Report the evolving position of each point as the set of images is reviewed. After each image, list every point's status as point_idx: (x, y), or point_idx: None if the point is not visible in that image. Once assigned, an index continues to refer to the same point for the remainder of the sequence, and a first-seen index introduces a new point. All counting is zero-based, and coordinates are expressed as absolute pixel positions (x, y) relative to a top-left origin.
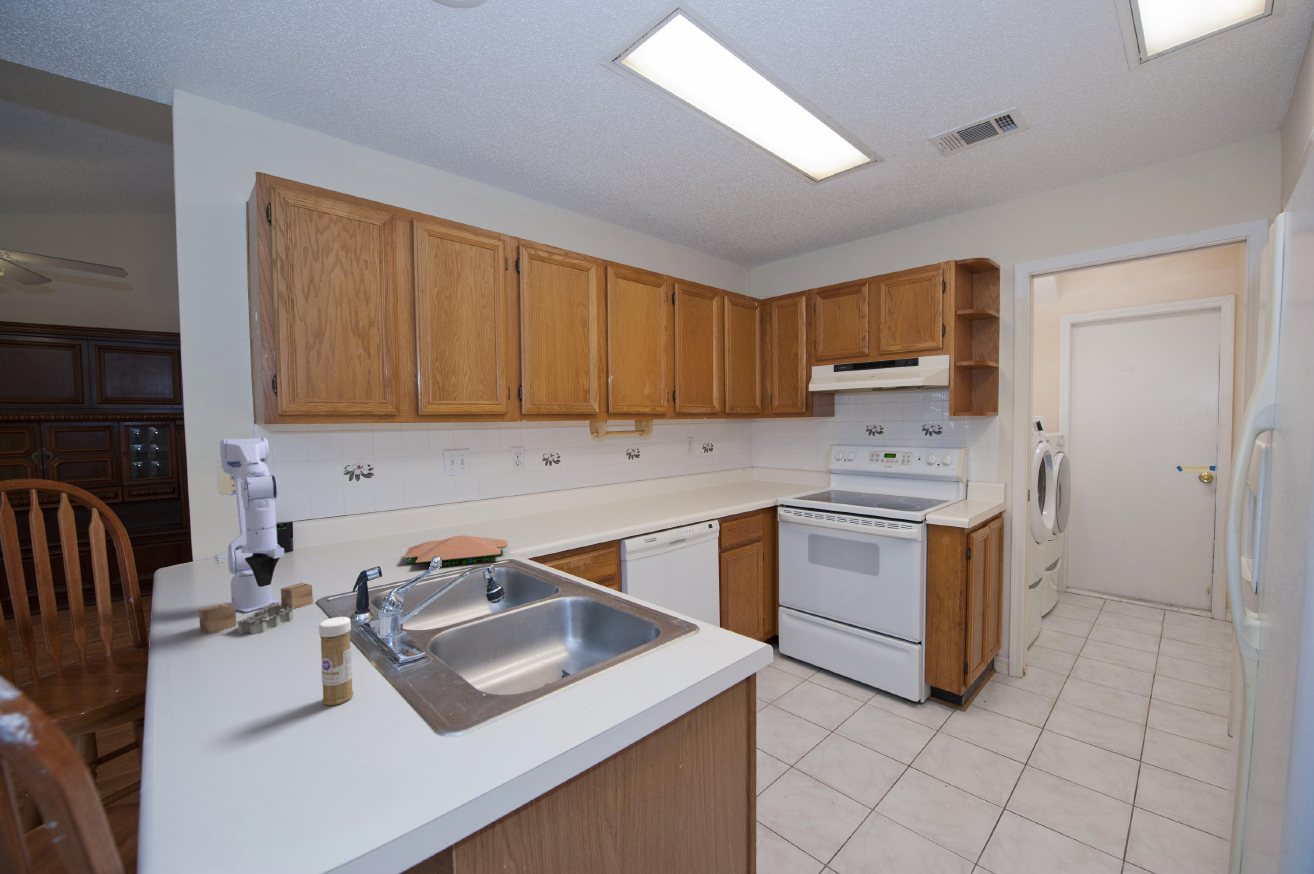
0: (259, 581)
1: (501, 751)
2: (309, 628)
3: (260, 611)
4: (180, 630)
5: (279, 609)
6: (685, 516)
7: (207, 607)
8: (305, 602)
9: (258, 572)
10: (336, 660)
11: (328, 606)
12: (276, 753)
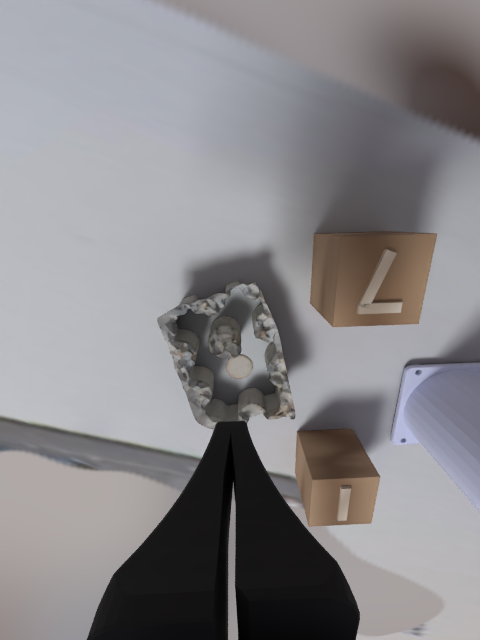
0: (210, 439)
1: None
2: (91, 389)
3: (272, 366)
4: (456, 197)
5: (273, 407)
6: None
7: (426, 264)
8: (297, 466)
9: (187, 486)
10: None
11: None
12: None
